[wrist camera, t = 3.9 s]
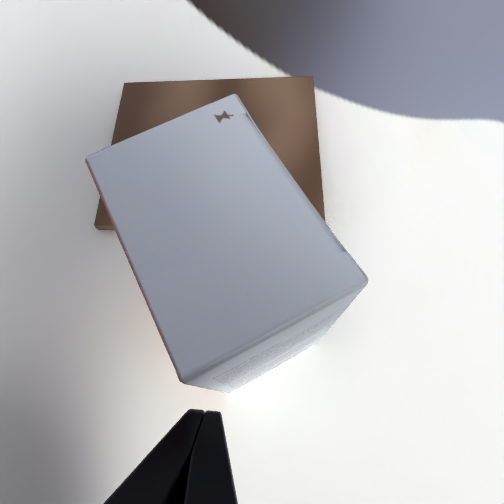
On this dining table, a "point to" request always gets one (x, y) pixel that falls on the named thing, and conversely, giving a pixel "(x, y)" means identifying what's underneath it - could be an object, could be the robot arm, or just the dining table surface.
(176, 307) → the small box
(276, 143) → the walnut board
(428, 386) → the dining table surface
